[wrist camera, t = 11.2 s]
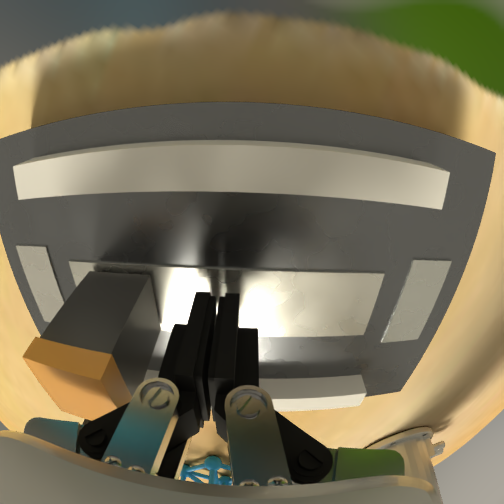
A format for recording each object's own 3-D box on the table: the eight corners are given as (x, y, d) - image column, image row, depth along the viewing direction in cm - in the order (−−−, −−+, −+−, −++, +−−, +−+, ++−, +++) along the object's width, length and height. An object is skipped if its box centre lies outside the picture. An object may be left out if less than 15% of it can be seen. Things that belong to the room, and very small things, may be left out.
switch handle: (152, 273, 11) (100, 380, 6) (163, 330, 12) (132, 431, 8) (87, 268, 11) (22, 356, 6) (104, 323, 12) (61, 410, 8)
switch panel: (448, 137, 12) (516, 160, 7) (384, 351, 19) (405, 406, 15) (30, 130, 12) (-35, 152, 7) (82, 337, 19) (55, 387, 14)
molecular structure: (268, 467, 32) (269, 524, 24) (226, 478, 36) (224, 527, 27) (211, 452, 29) (205, 518, 21) (174, 463, 33) (167, 517, 24)
